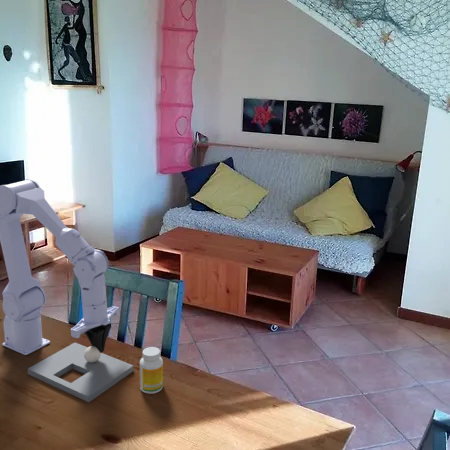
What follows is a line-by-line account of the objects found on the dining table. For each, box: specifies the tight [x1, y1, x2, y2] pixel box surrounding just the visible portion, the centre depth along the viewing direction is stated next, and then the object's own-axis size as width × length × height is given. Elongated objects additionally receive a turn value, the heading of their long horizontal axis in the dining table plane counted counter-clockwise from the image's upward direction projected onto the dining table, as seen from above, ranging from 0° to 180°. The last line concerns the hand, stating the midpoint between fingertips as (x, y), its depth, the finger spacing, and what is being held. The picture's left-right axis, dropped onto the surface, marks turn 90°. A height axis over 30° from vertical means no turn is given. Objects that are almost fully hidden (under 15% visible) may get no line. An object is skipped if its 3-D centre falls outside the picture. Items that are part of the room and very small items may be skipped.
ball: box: [84, 345, 101, 363], centre depth 125 cm, size 4×4×4 cm
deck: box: [27, 342, 134, 403], centre depth 123 cm, size 20×15×2 cm
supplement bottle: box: [139, 346, 164, 395], centre depth 117 cm, size 5×5×10 cm
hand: (98, 351), depth 126 cm, fingers closed, pressing on ball
